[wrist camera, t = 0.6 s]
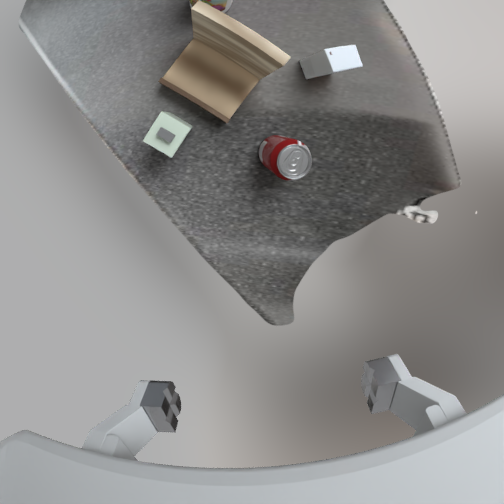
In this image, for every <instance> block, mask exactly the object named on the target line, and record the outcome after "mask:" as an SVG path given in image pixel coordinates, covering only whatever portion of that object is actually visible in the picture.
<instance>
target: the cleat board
mask: <svg viewBox="0 0 504 504" xmlns="http://www.w3.org/2000/svg"><path fill="white" fill-rule="evenodd" d="M191 14H192V26H193V40H192V41H191V42H190V43H189V44H188V46H187V47H186V48H185V49H184V51H183V52H182V53H181V54H180V56H179V57H178V58H177V59H176V61H175V62H174V63H173V65H172V66H171V67H170V69H169V70H168V71H167V73H166V74H165V76H164V77H163V78H160V80H159V81H158V82H160V83H161V84H162V85H164V86H166V87H167V88H169V89H171V90H173V91H174V92H176V93H178V94H180V95H181V96H183V97H185V98H186V99H188V100H190V101H191V102H193V103H195V104H196V105H198V106H200V107H201V108H203V109H205V110H206V111H208V112H209V113H211V114H212V115H214V116H216V117H217V118H219V119H220V120H222V121H223V122H225V123H228V122H229V120H230V118H231V116H232V115H233V114H234V112H235V111H236V110H237V108H238V107H239V106H240V104H241V103H242V102H243V101H244V99H245V98H246V97H247V95H248V94H249V93H250V91H251V90H252V89H253V88H254V86H255V85H256V84H257V83H258V81H259V80H260V79H262V78H263V77H265V76H267V75H269V74H270V73H272V72H274V71H275V70H277V69H279V68H281V67H282V66H284V65H285V64H286V62H287V61H288V60H289V59H290V58H291V57H290V56H289V55H287V54H286V53H285V52H283V51H282V50H280V49H279V48H278V47H276V46H275V45H273V44H272V43H271V42H269V41H268V40H266V39H265V38H263V37H262V36H260V35H259V34H257V33H256V32H254V31H253V30H251V29H249V28H248V27H246V26H245V25H243V24H241V23H240V22H238V21H236V20H235V19H233V18H231V17H230V16H228V15H226V14H224V13H223V12H221V11H219V10H217V9H215V8H213V7H212V6H210V5H208V4H206V3H204V2H202V1H200V0H199V1H198V2H197V3H196V4H195V5H194V6H193V7H192V8H191Z"/></svg>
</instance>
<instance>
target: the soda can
mask: <svg viewBox="0 0 504 504" xmlns="http://www.w3.org/2000/svg"><path fill="white" fill-rule="evenodd" d="M259 158H260V161H261V162H262V164H263V165H264V166H265V167H267V168H268V169H269V170H270V171H272V172H273V173H274V174H275V175H277V176H278V177H279V178H281V179H283V180H287V181H294V180H297V179H300V178H302V177H304V176H305V175H306V174H307V173H308V172H309V170H310V168H311V164H312V159H311V154H310V151H309V149H308V148H307V146H306V145H305V144H304V143H302V142H300V141H298V140H295V139H291V138H288V137H284V136H280V135H273V136H270V137H268V138H266V139H265V140H264V141H263V142H262V143H261V145H260V148H259Z"/></svg>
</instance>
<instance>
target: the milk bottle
mask: <svg viewBox="0 0 504 504" xmlns="http://www.w3.org/2000/svg"><path fill="white" fill-rule="evenodd" d="M198 1H199V0H189V2H190V7H191V8H192V7H193V6H194V5H195V4H196V3H197V2H198ZM200 1H202V2H204V3H206V4H208V5H210V6H212V7H213V8H215V9H217V10H219V11H221V12H223V13H225V12H226V11H227V10H228V9H229V8H230V6H231V4H232V1H233V0H200Z"/></svg>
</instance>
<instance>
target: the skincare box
mask: <svg viewBox="0 0 504 504" xmlns="http://www.w3.org/2000/svg"><path fill="white" fill-rule="evenodd" d="M299 62H300V65H301V67H302V70H303V72H304V75H305V78H306V79H310V78H315V77H319V76H323V75H328V74H332V73H337V72H341V71H345V70H350V69H354V68H358V67H362V63H361V60H360V57H359V54H358V51H357V48H356V45H348V46H340V47H334V48H329V49H324V50H321V51H319V52H317V53H315V54H312V55H310V56H308V57H306V58H304V59H302V60H299Z"/></svg>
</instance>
